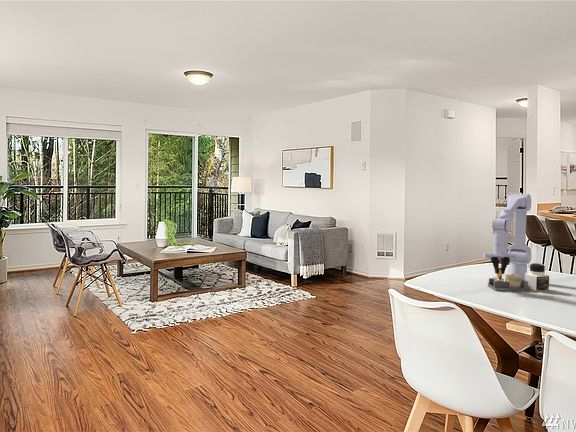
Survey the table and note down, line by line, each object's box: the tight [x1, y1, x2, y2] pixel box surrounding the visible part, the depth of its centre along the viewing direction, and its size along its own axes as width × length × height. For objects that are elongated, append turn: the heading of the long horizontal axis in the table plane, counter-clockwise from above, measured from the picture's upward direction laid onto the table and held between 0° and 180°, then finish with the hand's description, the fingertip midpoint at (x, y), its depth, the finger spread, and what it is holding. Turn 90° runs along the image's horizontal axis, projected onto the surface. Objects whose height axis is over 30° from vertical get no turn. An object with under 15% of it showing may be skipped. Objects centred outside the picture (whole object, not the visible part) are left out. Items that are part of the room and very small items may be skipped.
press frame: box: [487, 277, 530, 293], centre depth 209 cm, size 10×14×4 cm
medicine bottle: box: [525, 262, 550, 293], centre depth 207 cm, size 7×7×12 cm
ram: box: [492, 267, 505, 284], centre depth 209 cm, size 5×3×8 cm, turn 175°
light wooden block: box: [504, 273, 520, 287], centre depth 208 cm, size 4×5×5 cm
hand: (499, 273), depth 207 cm, fingers closed on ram, 2 cm apart
